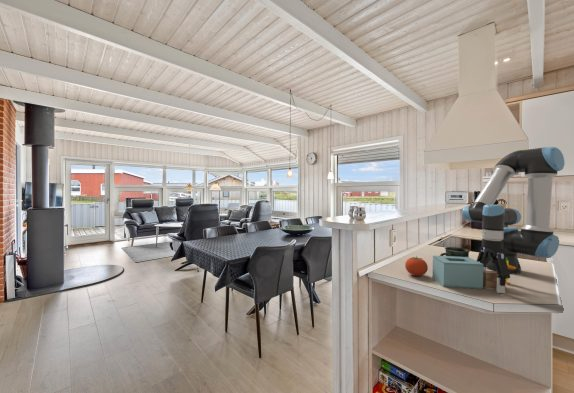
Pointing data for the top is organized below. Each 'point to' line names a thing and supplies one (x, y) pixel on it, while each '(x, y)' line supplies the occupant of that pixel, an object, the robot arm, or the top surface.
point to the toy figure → (509, 268)
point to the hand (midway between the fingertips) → (490, 286)
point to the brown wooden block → (490, 279)
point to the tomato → (416, 266)
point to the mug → (456, 252)
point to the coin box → (458, 272)
